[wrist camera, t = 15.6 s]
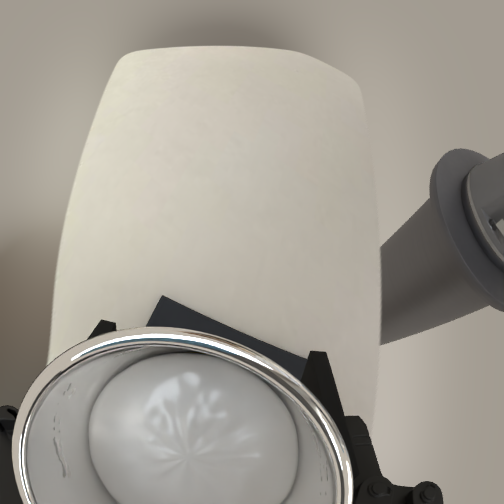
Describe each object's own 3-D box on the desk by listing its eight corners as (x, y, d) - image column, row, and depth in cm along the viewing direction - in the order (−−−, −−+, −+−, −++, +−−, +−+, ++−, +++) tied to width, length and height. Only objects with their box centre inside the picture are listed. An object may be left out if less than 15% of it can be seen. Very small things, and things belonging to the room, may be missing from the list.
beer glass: (250, 474, 16) (317, 626, 2) (143, 451, 16) (7, 551, 2) (269, 375, 19) (391, 349, 5) (162, 352, 19) (37, 274, 5)
